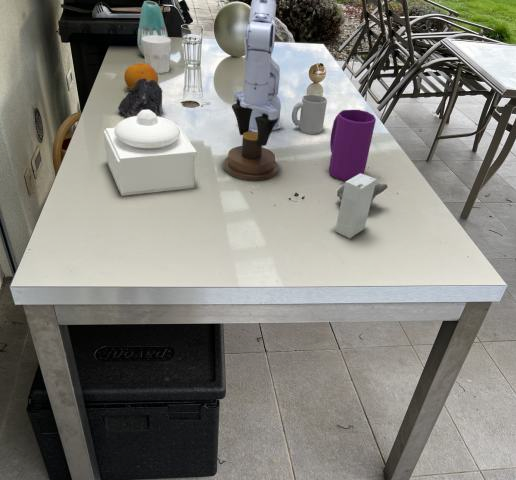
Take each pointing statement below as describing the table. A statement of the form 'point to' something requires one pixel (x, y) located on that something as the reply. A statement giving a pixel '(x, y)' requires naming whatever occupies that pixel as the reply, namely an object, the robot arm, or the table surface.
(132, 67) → the fruit
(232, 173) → the pod stand
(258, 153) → the coffee pod
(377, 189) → the fossil
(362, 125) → the mug
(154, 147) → the butter dish
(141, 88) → the crystal cluster
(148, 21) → the vase
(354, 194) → the cosmetic box
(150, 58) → the cup
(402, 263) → the table surface
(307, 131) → the cup
